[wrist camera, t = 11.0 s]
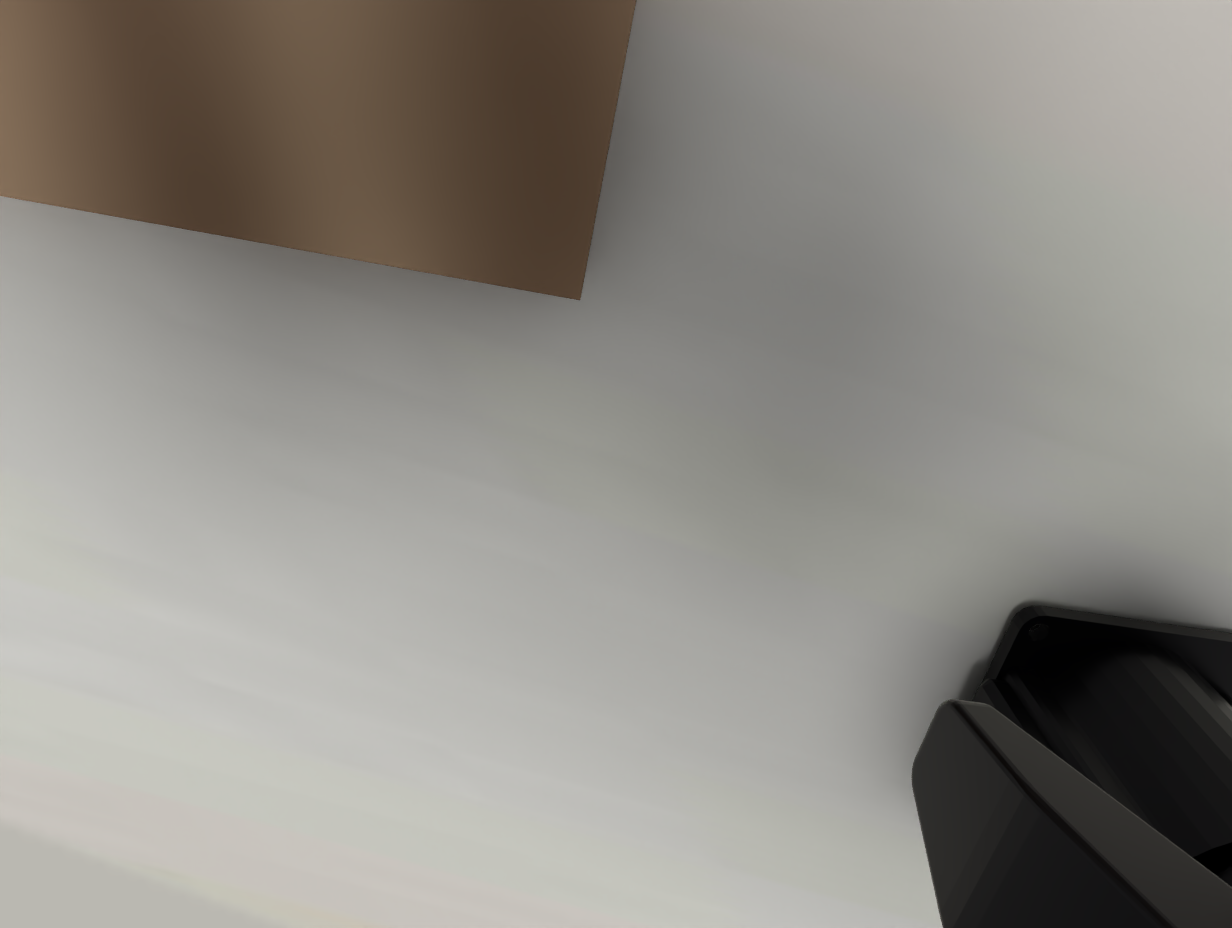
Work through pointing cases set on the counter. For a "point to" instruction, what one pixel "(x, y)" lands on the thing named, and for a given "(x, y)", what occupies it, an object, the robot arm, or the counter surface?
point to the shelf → (326, 124)
